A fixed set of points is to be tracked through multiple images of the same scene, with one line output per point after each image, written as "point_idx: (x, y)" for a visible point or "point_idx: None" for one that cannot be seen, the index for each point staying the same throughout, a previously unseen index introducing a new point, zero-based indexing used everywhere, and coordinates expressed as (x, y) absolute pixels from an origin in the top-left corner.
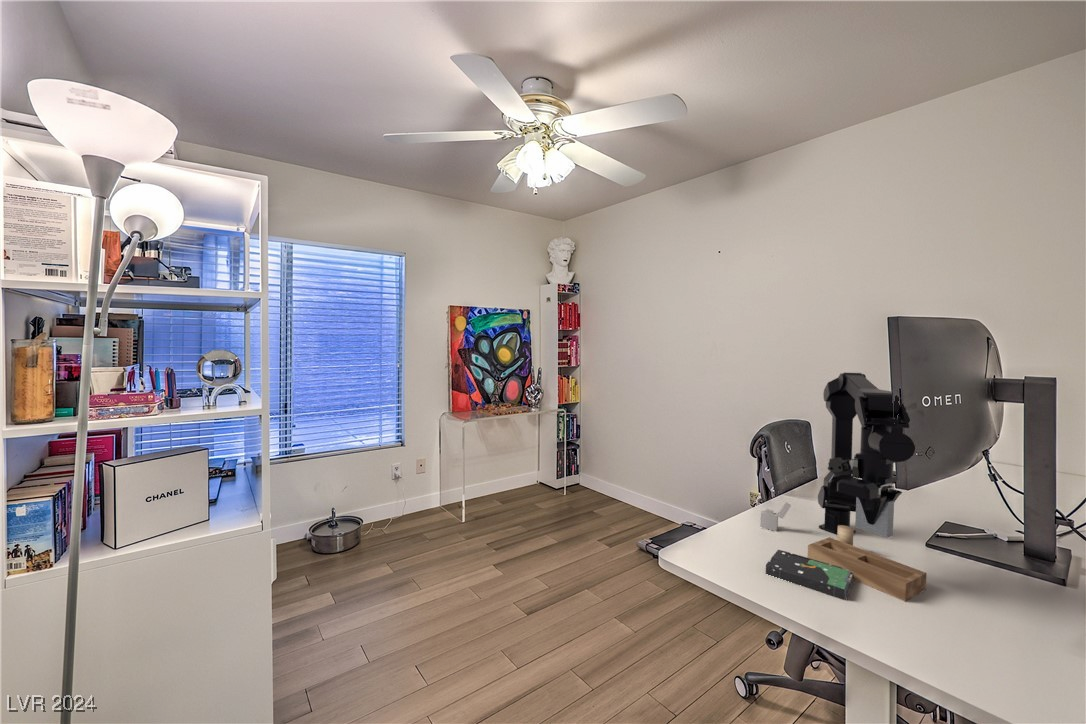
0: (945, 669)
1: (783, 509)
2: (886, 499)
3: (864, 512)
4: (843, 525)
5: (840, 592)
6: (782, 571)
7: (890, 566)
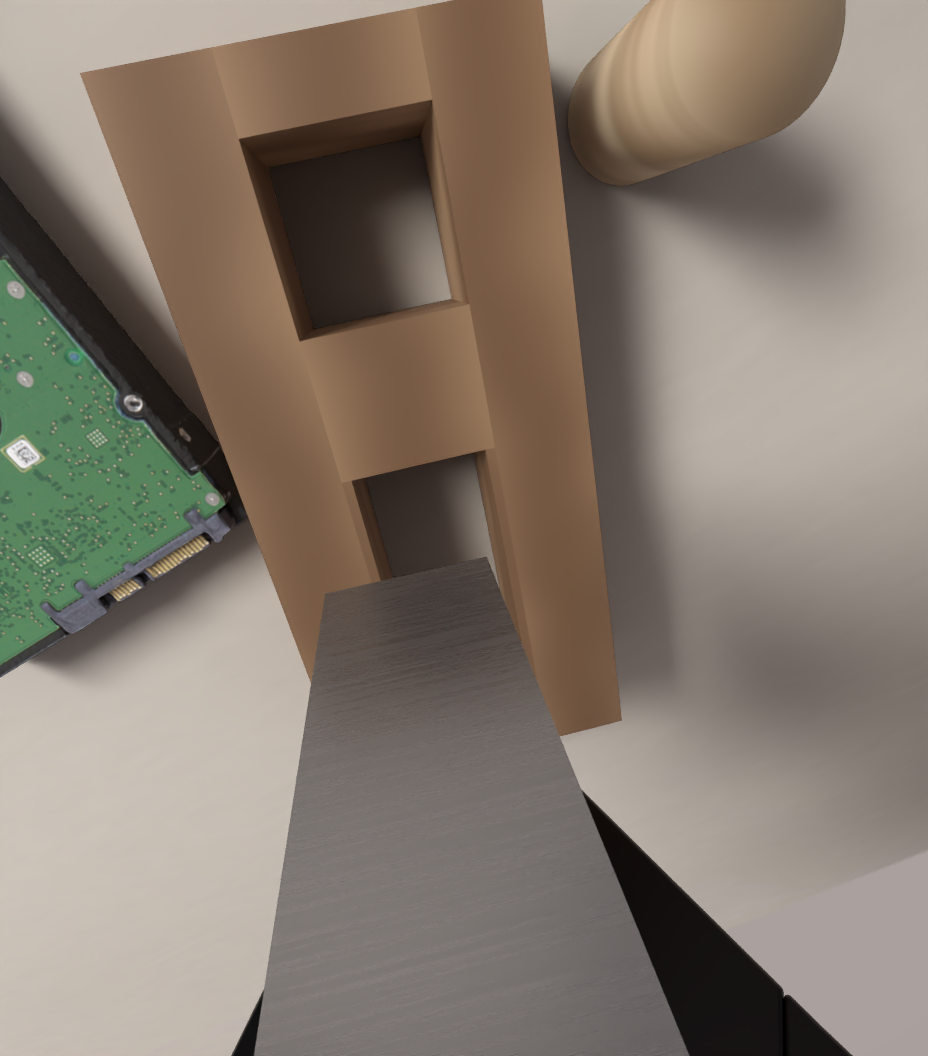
0: (62, 1008)
1: None
2: None
3: (249, 1031)
4: None
5: None
6: None
7: (513, 600)
